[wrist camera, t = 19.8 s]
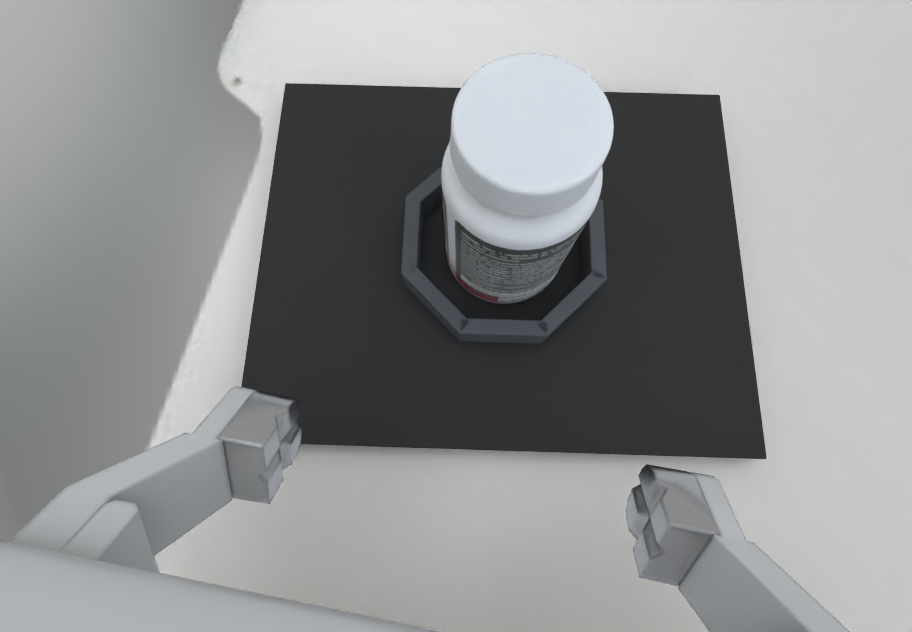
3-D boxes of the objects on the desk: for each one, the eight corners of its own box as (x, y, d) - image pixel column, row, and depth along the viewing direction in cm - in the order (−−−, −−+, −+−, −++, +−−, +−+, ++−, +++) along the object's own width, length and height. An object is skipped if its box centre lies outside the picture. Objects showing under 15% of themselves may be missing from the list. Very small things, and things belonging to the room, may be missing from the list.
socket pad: (708, 109, 22) (739, 69, 20) (750, 457, 18) (795, 461, 16) (292, 98, 22) (272, 57, 20) (244, 441, 18) (212, 442, 16)
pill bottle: (580, 274, 19) (672, 155, 11) (479, 326, 19) (498, 242, 10) (523, 182, 20) (569, 13, 12) (426, 229, 20) (405, 84, 12)
